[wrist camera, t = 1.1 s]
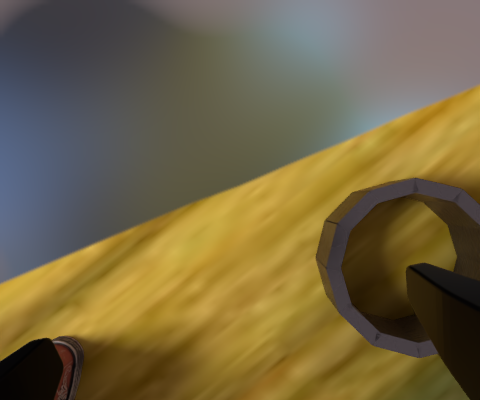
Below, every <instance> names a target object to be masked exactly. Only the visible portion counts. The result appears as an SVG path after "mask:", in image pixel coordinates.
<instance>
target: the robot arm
mask: <svg viewBox="0 0 480 400" xmlns="http://www.w3.org/2000/svg"><path fill="white" fill-rule="evenodd" d="M406 282H407V295H408V299H409V302H410V305H411V307H412V308H413V310H414V312H415V314H416V315H417V317H418V319H419V321H420V322H421V324H422V326H423V327H424V329H425V331H426V333H427V334H428V336H429V338H430V340H431V341H432V343H433V345H434V347H435V348H436V350H437V352H438V354H439V355H440V357H441V359H442V360H443V362H444V364H445V365H446V366H447V368H448V369H449V371H450V372H451V374H452V375H453V377H454V378H455V379H456V381H457V382H458V383H459V385H460V386H461V388H462V389H463V390H464V392H465V393H466V395H467V396H468V397H469V399H470V400H480V281H479V280H476V279H473V278H470V277H467V276H464V275H461V274H458V273H455V272H452V271H449V270H446V269H443V268H440V267H437V266H434V265H430V264H427V263H419V264H414V265H409V266H408V267H407V268H406ZM63 370H64V365H63V361H62V359H61V357H60V355H59V353H58V351H57V349H56V347H55V345H54V343H53V341H52V340H51V339H50V338H42V339H37V340H33V341H31V342H29V343H27V344H26V345H24V346H23V347H21V348H20V349H18V350H17V351H15V352H14V353H12V354H11V355H9V356H8V357H6V358H5V359H3V360H2V361H0V400H54V399H55V396H56V393H57V390H58V387H59V383H60V380H61V377H62V374H63Z"/></svg>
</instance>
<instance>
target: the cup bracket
mask: <svg viewBox="0 0 480 400" xmlns="http://www.w3.org/2000/svg"><path fill="white" fill-rule="evenodd" d="M398 197H404V198H409V199H413V200H417V201H421V202H424V203H425V204H426V205H427V206H428V207H429V208H430V209H431V210H432V211H433V212H434V213H436V214H437V215H438V216H439V217H440V218H441V219H442V220H443V221H444V222H445V223H446V224H447V225H448V227H449V231H450V234H451V237H452V241H453V244H454V247H455V251H456V254H457V260H456V264H455V268H454V272H455V273H458V274H461V275H464V276H467V277H470V278H473V279H476V280H479V281H480V205H479V204H478V203H477V202H476V201H475V200H474V199H473V198H472V197H471V196H470V195H468V194H467V193H466V192H465V191H464V190H463V189H461V188H457V187H452V186H448V185H444V184H440V183H436V182H431V181H427V180H423V179H419V178H411V179H404V180H398V181H392V182H387V183H384V184H380V185H377V186H373V187H370V188H366V189H363V190H359V191H355V192H353V193H351V194H350V195H349V196H348V197H347V198H346V199H345V200H344V201H343V202H342V203H341V204H340V205H339V206H338V207H337V208H336V209H335V210H334V211H333V212H332V214H331V215H330V216H329V217H328V218H327V219H326V221H325V222H324V226H323V230H322V234H321V238H320V242H319V246H318V250H317V253H316V261H317V265H318V268H319V272H320V275H321V279H322V282H323V285H324V289H325V292H326V295H327V297H328V298H329V299H330V301H331V302H332V304H333V305H334V306H335V308H336V309H337V311H338V312H339V313H340V314H341V315H342V316H343V317H344V318H345V319H346V320H347V321H348V322H349V323H350V324H351V325H352V326H353V327H354V328H355V329H356V330H357V331H358V332H359V333H360V334H361V335H362V336H363V337H364V338H365V339H366V340H367V341H369V342H370V343H371V344H372V345H373V346H376V347H380V348H383V349H387V350H391V351H395V352H398V353H402V354H406V355H409V356H413V357H417V358H422V357H426V356H430V355H434V354H438V352H437V350H436V348H435V347H434V345H433V343H432V341H431V340H430V338H429V336H428V334H427V333H426V331H425V329H424V327H423V326H422V324H421V322H420V321H419V319H418V317H417V315H412V316H408V317H404V318H400V319H396V320H390V319H386V318H383V317H379V316H375V315H371V314H367V313H364V312H361V311H360V310H359V309H358V308H356V307H355V306H354V305H353V304H352V303H351V301H350V298H349V294H348V291H347V287H346V284H345V280H344V277H343V274H342V270H341V266H342V262H343V258H344V254H345V250H346V246H347V242H348V238H349V234H350V231H351V230H352V229H353V228H354V227H355V226H356V225H357V224H358V223H359V222H360V221H361V220H362V219H363V218H364V217H365V216H366V215H367V214H368V213H369V212H370V211H371V209H372V208H373V207H374V206H375V205H376V204H377V203H381V202H384V201H388V200H391V199H395V198H398ZM438 355H439V354H438ZM439 356H440V355H439Z"/></svg>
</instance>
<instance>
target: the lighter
mask: <svg viewBox="0 0 480 400" xmlns="http://www.w3.org/2000/svg"><path fill="white" fill-rule="evenodd" d="M52 341H53V343H54V345H55V347H56V349H57V351H58V353H59V355H60V357H61V359H62V361H63V365H64V370H63V374H62V377H61V380H60V383H59V387H58V390H57V393H56V396H55V399H54V400H74V399H75V395H76V392H77V388H78V385H79V381H80V377H81V371H82V365H83V359H84V351H83V348H82V346H81V345H80V343H79V342H78V341H77V340H75V339H73V338H72V337H68V336H59V337H57V338H55V339H53V340H52Z"/></svg>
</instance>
